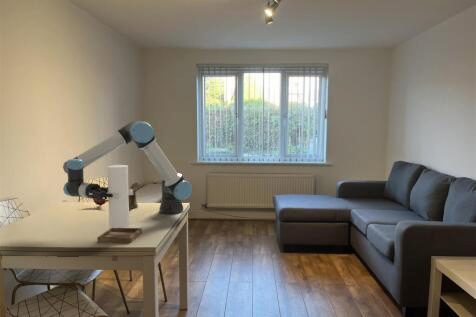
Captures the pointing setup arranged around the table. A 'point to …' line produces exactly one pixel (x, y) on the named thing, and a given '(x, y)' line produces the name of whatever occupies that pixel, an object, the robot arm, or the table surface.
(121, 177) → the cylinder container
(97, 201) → the decorative bird figurine
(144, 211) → the table surface
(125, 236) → the walnut stand tray
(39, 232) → the table surface
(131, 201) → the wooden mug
